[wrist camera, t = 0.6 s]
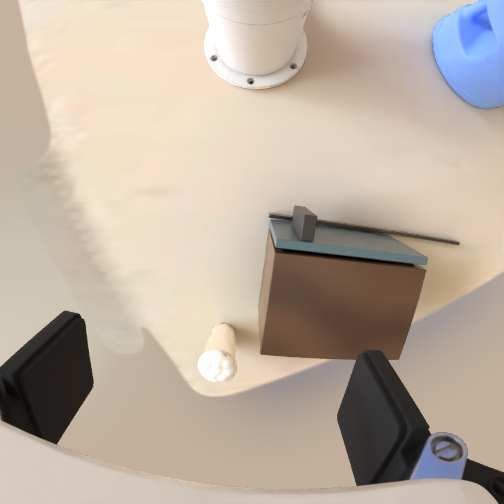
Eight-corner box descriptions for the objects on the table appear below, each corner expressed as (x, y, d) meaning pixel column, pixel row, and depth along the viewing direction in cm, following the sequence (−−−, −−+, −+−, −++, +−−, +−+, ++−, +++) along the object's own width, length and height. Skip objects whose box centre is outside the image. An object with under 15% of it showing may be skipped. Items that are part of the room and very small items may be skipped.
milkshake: (246, 321, 42) (245, 362, 33) (232, 351, 44) (228, 396, 34) (215, 309, 42) (205, 348, 32) (202, 340, 43) (190, 383, 34)
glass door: (272, 200, 38) (280, 211, 27) (391, 217, 38) (433, 234, 28) (269, 226, 39) (275, 247, 28) (386, 241, 39) (426, 265, 29)
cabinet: (268, 213, 39) (275, 231, 28) (456, 240, 39) (505, 263, 28) (256, 307, 42) (258, 354, 31) (435, 318, 43) (474, 356, 31)
